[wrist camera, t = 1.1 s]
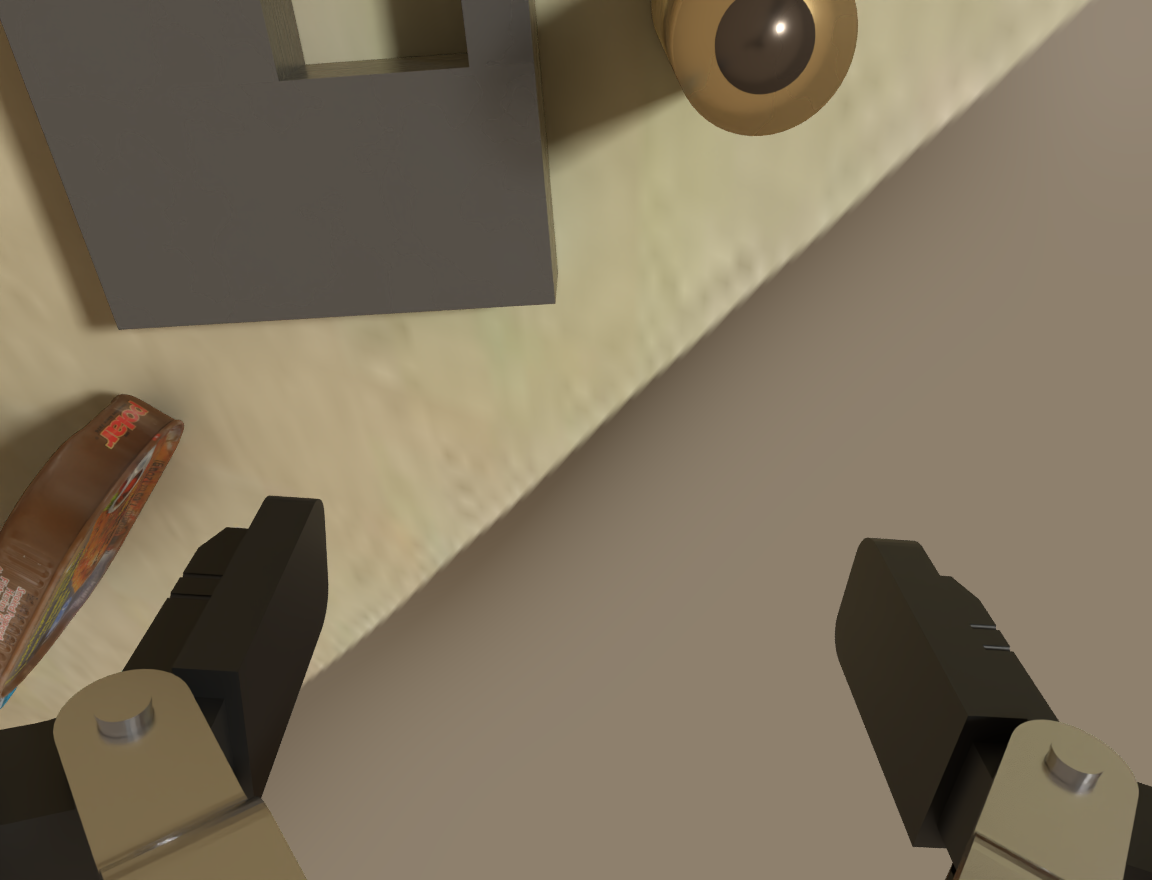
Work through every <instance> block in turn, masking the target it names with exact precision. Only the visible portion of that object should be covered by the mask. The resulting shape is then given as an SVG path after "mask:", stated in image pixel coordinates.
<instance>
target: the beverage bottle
mask: <svg viewBox="0 0 1152 880" xmlns="http://www.w3.org/2000/svg"><path fill="white" fill-rule="evenodd" d="M16 688H17V687H16ZM16 688H15V689H14V690H13V691H12V692H11V693H9V694H8V696H6V697H4V698H0V709H1V708H2V707H3V706H4V705H5V703H6V702H7V701H8V700H9V698H10V697H11V695H12V694H13V693H14V691H15V690H16Z"/></svg>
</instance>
